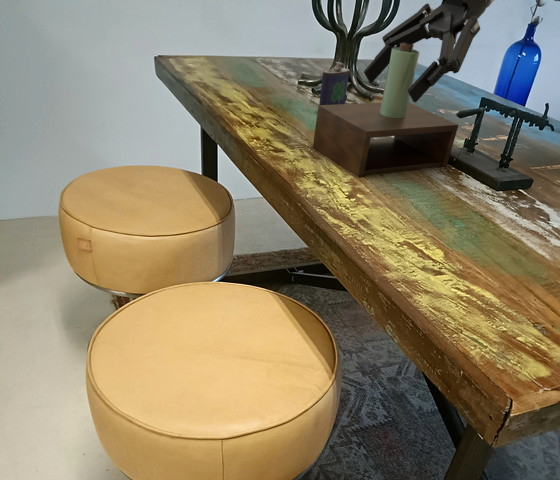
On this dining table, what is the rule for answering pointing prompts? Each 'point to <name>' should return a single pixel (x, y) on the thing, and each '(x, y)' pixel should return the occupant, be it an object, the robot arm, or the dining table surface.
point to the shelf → (382, 152)
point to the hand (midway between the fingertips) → (388, 86)
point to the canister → (399, 81)
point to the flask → (334, 85)
